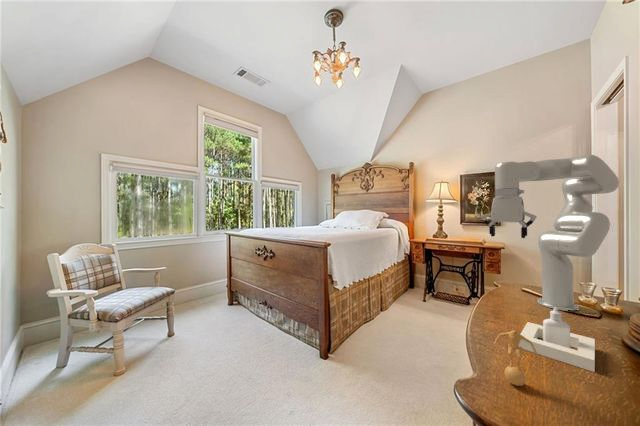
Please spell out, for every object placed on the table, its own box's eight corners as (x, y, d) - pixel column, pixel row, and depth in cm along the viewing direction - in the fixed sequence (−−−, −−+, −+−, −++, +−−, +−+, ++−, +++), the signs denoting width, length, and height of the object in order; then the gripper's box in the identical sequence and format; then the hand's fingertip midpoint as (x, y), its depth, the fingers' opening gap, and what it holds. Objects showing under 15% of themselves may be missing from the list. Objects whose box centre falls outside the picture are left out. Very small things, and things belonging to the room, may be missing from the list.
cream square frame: (527, 330, 82) (527, 321, 82) (594, 349, 70) (594, 338, 70) (518, 347, 72) (518, 337, 72) (594, 372, 61) (594, 360, 61)
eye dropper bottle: (568, 355, 68) (567, 312, 68) (541, 346, 72) (540, 306, 72) (571, 350, 70) (570, 308, 70) (545, 341, 75) (545, 303, 75)
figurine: (492, 380, 58) (492, 331, 58) (495, 368, 63) (494, 322, 63) (539, 397, 53) (538, 342, 53) (538, 382, 57) (537, 331, 57)
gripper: (537, 192, 91) (538, 237, 91) (484, 195, 104) (484, 235, 104) (534, 191, 86) (535, 239, 87) (478, 194, 100) (479, 236, 100)
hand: (507, 237), depth 96 cm, fingers open, 9 cm apart
